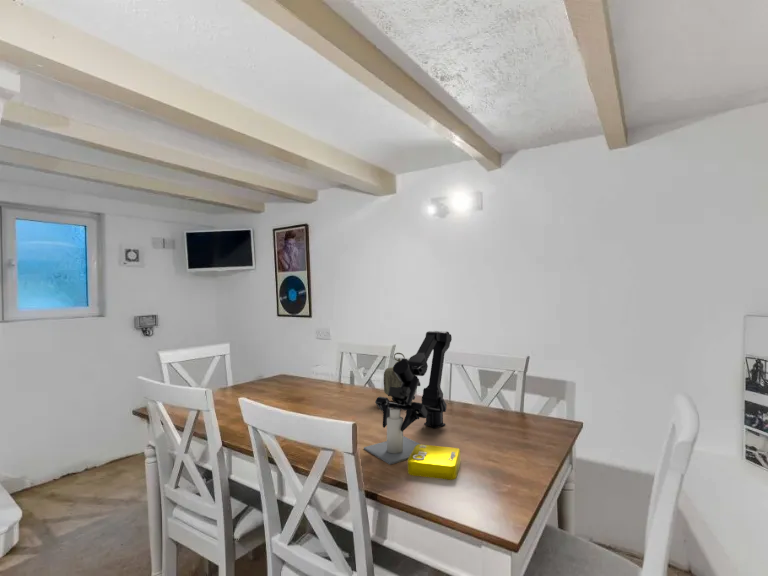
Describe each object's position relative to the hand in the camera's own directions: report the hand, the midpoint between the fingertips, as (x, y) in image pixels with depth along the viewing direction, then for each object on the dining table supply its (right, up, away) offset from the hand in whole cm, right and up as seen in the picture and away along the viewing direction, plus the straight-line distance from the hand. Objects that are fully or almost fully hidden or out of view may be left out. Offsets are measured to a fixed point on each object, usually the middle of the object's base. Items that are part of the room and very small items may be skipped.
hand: (392, 429), depth 138 cm
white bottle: (+1, -8, +1) cm, 8 cm away
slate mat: (+2, -8, +3) cm, 9 cm away
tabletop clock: (+5, -9, +61) cm, 62 cm away
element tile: (+13, -9, -10) cm, 19 cm away
